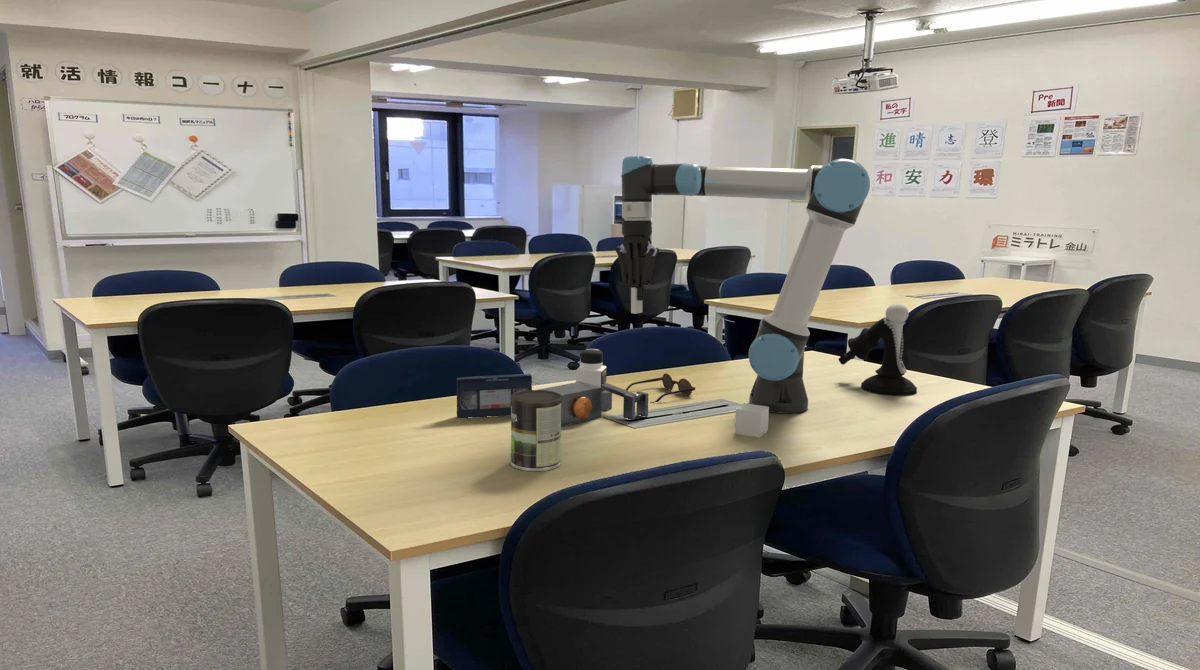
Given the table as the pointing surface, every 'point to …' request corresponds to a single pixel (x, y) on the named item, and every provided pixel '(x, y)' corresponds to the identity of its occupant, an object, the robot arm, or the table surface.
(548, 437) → the coffee can
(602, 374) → the medicine bottle
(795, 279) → the robot arm
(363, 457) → the table surface
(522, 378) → the vhs cassette tape
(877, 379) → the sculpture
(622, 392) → the keeper
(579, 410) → the pin
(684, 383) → the eyeglasses
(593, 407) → the hitch block
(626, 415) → the bracket
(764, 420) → the white cube
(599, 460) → the table surface
